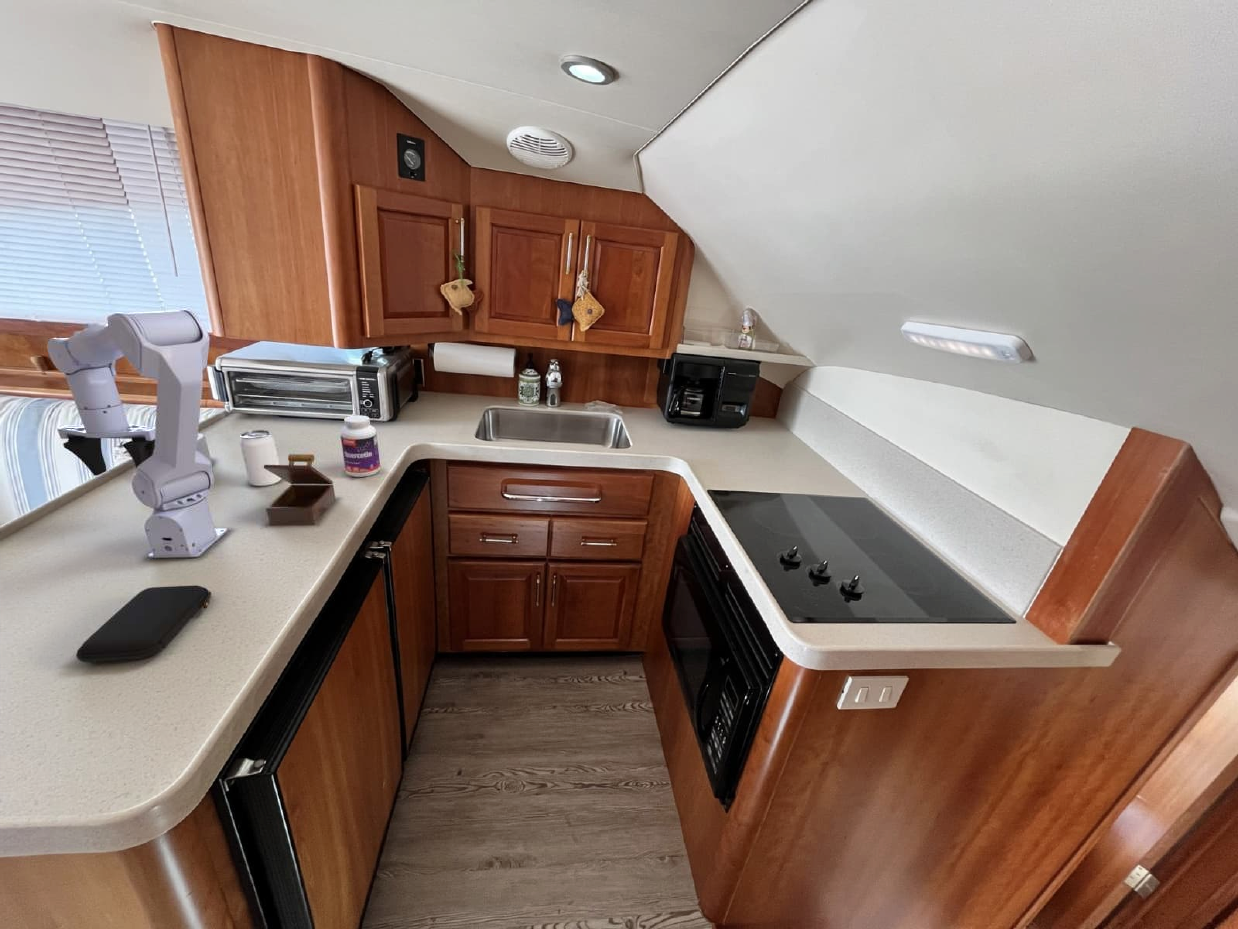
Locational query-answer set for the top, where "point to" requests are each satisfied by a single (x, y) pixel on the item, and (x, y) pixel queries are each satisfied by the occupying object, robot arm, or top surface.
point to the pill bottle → (360, 447)
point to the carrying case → (144, 624)
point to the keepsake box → (301, 504)
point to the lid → (299, 471)
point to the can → (259, 457)
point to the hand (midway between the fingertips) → (123, 473)
